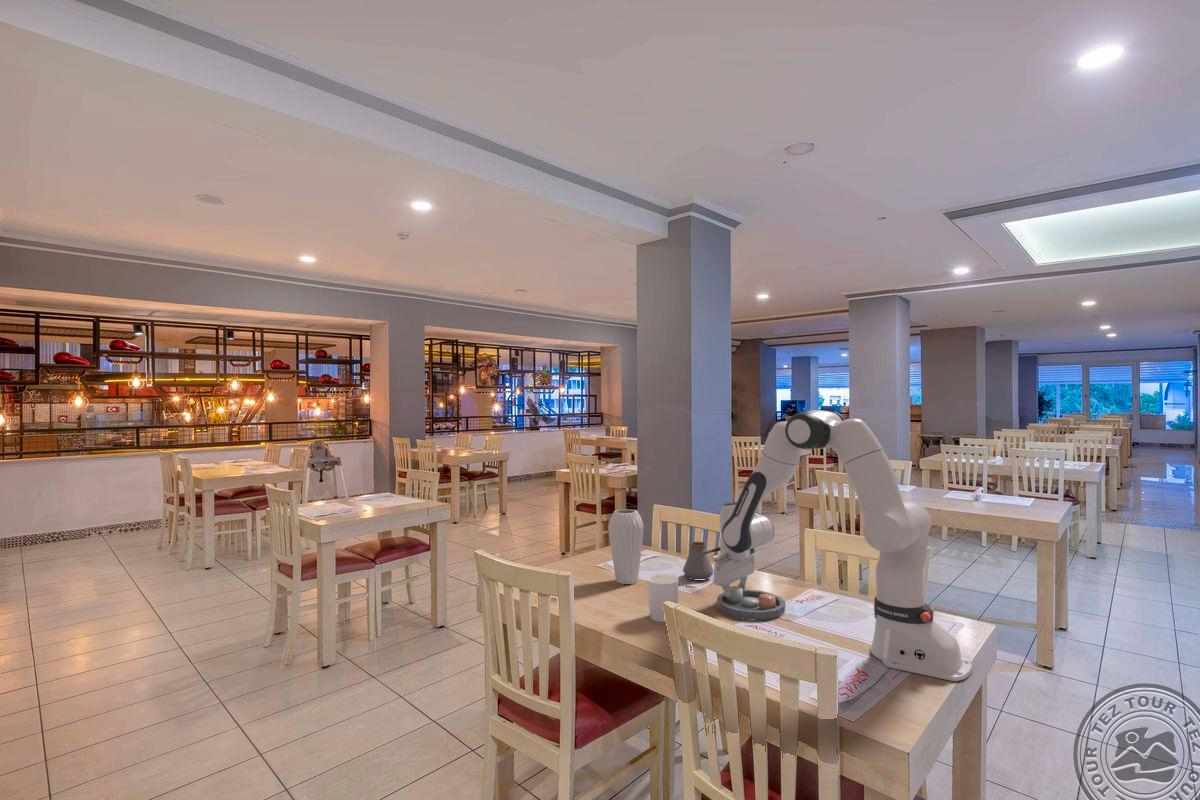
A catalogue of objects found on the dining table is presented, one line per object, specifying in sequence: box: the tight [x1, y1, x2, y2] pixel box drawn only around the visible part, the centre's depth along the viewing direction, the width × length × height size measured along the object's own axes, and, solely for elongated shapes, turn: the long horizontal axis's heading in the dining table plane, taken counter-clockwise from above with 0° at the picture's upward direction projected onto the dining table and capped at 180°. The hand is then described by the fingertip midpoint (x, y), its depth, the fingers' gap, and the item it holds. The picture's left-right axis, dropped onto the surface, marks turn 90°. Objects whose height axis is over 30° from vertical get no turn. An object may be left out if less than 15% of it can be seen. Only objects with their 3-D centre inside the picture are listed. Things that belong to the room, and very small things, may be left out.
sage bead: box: [727, 585, 743, 603], centre depth 186 cm, size 5×5×4 cm
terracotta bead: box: [759, 594, 775, 610], centre depth 178 cm, size 5×5×4 cm
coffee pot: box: [682, 541, 720, 580], centre depth 211 cm, size 21×12×15 cm, turn 38°
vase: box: [607, 508, 644, 585], centre depth 212 cm, size 13×13×26 cm
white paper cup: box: [646, 573, 680, 623], centre depth 176 cm, size 10×10×12 cm
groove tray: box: [716, 588, 786, 621], centre depth 182 cm, size 21×21×2 cm
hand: (734, 592), depth 186 cm, fingers open, 7 cm apart
